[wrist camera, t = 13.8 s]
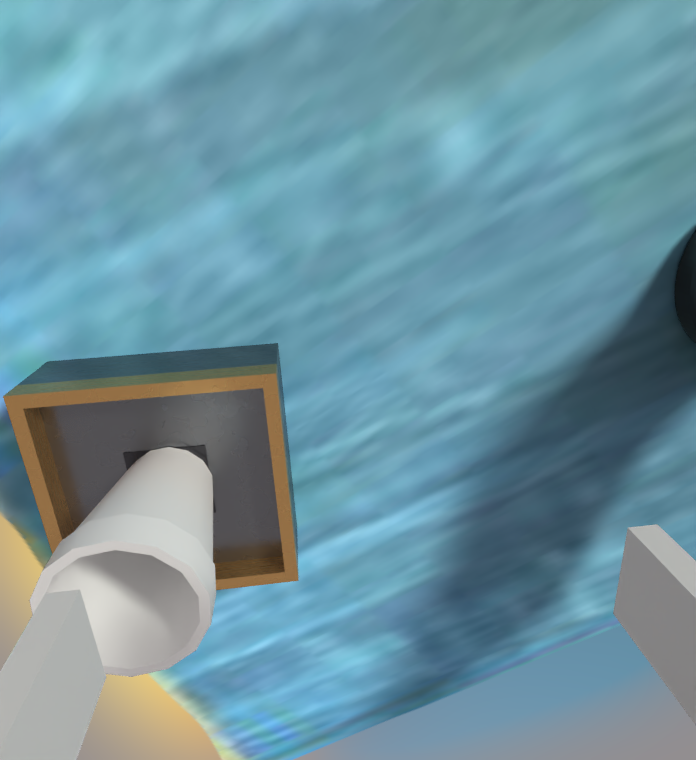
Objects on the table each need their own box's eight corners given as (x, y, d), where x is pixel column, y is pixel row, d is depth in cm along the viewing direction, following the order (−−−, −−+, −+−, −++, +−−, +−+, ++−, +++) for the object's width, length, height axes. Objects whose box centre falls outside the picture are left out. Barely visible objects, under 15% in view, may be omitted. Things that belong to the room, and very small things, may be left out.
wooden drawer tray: (277, 343, 43) (276, 373, 37) (296, 527, 50) (298, 580, 43) (26, 363, 42) (-23, 398, 35) (80, 550, 48) (47, 609, 42)
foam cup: (166, 553, 43) (119, 700, 31) (80, 477, 40) (-10, 607, 28) (258, 489, 42) (246, 616, 30) (177, 405, 39) (127, 509, 27)
